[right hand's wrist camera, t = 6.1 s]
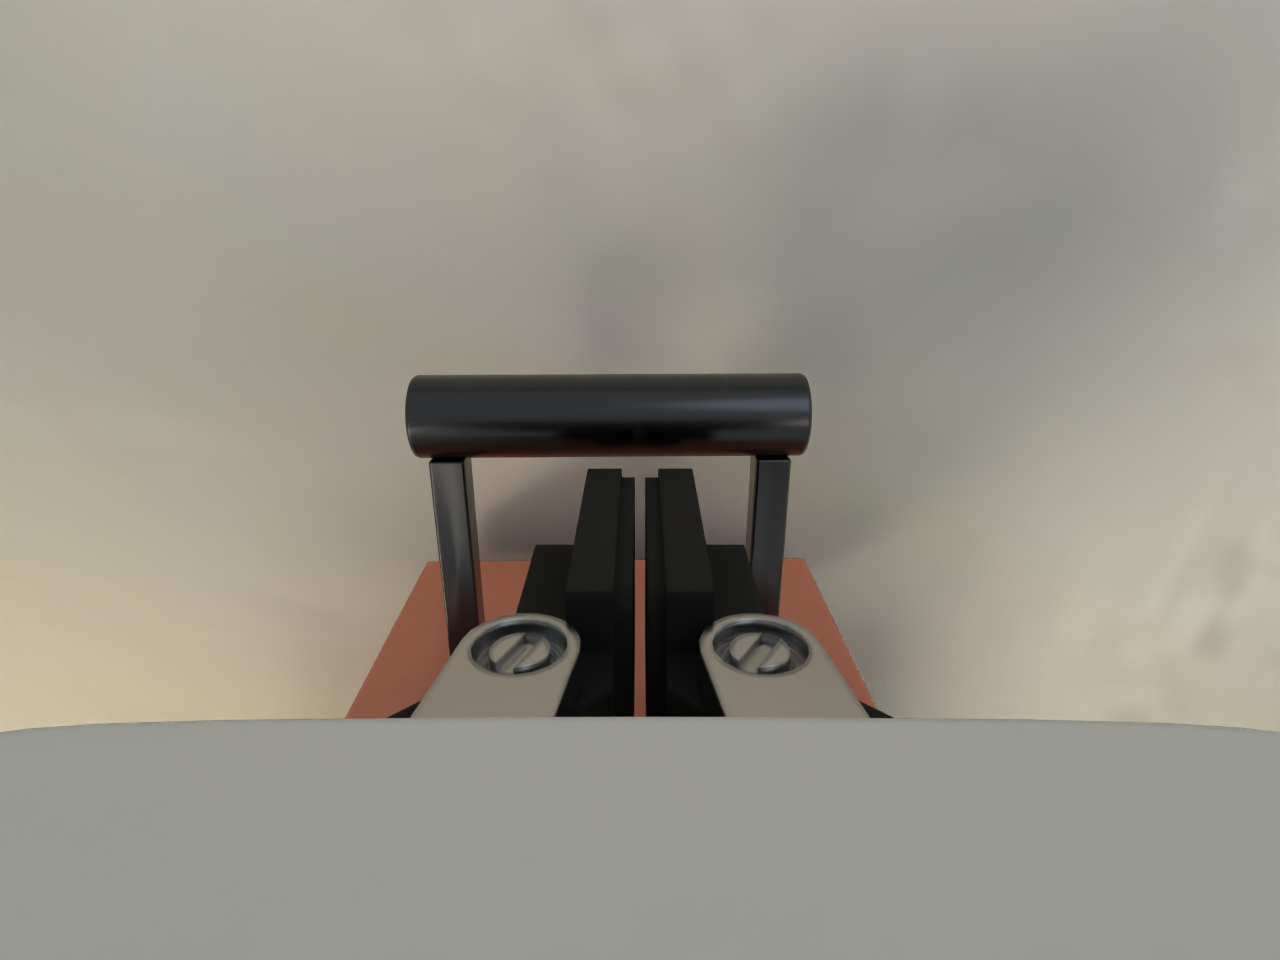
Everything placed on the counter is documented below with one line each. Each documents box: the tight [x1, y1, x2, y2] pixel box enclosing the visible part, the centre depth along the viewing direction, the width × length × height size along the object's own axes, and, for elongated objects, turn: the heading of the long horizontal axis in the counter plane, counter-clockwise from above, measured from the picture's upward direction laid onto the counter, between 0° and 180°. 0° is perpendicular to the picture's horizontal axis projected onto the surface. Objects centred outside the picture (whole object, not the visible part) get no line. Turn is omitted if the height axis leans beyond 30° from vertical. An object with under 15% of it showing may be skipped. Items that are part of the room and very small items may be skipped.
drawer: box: [345, 373, 877, 719], centre depth 17 cm, size 24×9×8 cm, turn 0°
